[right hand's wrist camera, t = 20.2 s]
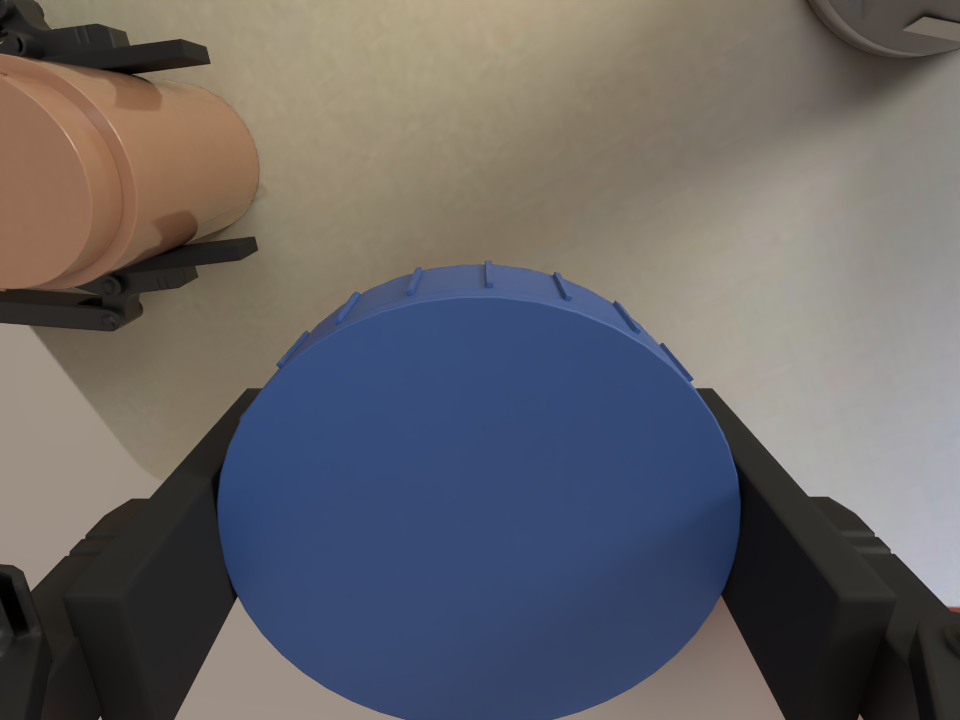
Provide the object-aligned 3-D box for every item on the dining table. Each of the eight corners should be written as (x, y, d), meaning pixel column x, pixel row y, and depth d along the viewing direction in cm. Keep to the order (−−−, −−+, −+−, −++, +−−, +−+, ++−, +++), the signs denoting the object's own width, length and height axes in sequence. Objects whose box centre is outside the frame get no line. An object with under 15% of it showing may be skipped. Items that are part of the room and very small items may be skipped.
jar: (114, 64, 33) (-172, 12, 19) (267, 104, 34) (110, 84, 19) (111, 214, 36) (-137, 273, 22) (251, 247, 37) (105, 326, 22)
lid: (496, 701, 15) (498, 794, 13) (171, 495, 13) (112, 567, 11) (792, 461, 12) (855, 528, 10) (452, 149, 10) (445, 155, 8)
